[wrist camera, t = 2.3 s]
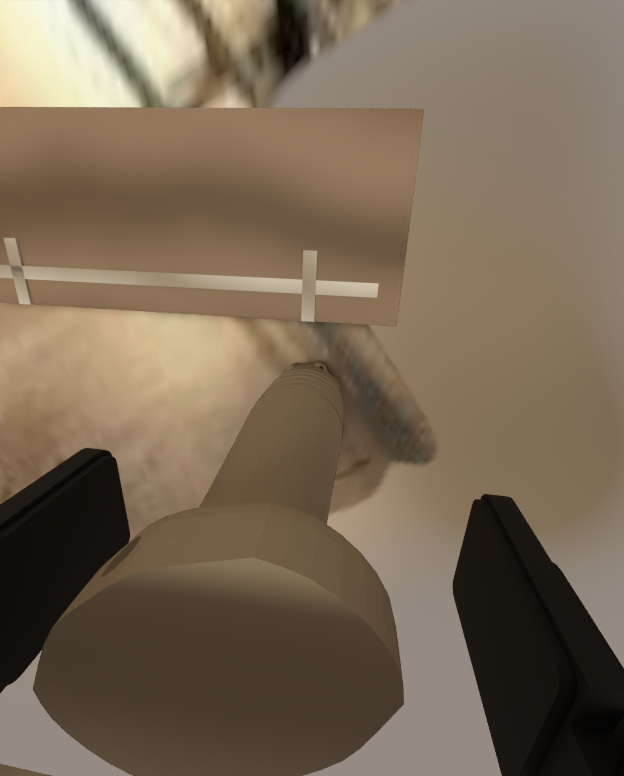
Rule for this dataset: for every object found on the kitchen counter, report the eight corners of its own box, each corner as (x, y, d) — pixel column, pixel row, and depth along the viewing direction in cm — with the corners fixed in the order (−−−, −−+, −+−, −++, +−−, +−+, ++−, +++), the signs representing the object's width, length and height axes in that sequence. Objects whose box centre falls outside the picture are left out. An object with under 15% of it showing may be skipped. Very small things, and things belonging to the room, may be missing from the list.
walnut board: (391, 318, 18) (396, 326, 15) (1, 295, 20) (-48, 299, 17) (413, 132, 15) (424, 107, 13) (-42, 128, 17) (-109, 105, 15)
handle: (383, 384, 19) (466, 723, 5) (295, 445, 21) (178, 814, 7) (328, 315, 18) (241, 494, 4) (241, 385, 20) (-20, 672, 6)
